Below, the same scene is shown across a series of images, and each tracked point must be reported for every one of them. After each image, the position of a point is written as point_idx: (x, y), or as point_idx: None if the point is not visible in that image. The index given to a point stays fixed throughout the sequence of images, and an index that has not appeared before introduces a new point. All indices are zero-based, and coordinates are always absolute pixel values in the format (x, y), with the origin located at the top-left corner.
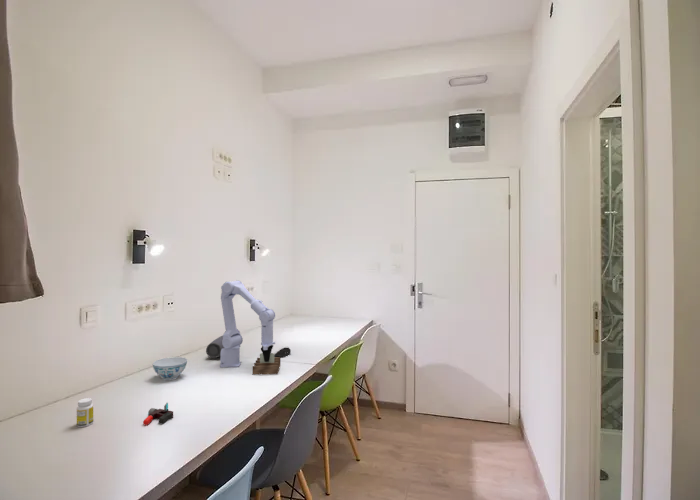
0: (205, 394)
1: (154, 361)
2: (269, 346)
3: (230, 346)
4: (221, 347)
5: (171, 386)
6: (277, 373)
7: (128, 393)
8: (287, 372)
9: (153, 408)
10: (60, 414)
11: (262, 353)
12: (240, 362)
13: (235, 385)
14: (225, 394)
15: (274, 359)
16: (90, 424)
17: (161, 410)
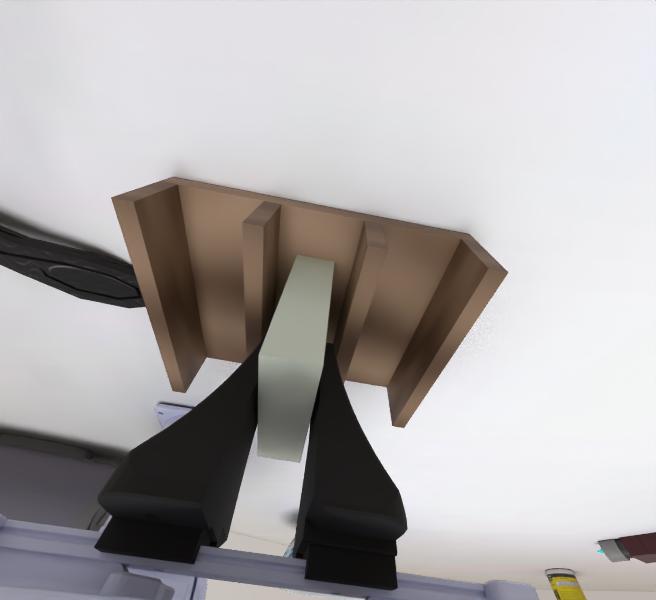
0: (553, 491)
1: (316, 596)
2: (212, 520)
3: (205, 592)
4: (77, 517)
5: (411, 522)
6: (471, 237)
7: (420, 550)
8: (469, 116)
9: (618, 560)
10: (478, 576)
11: (265, 447)
12: (171, 411)
13: (527, 436)
14: (616, 462)
15: (164, 263)
16: (570, 571)
17: (650, 555)
